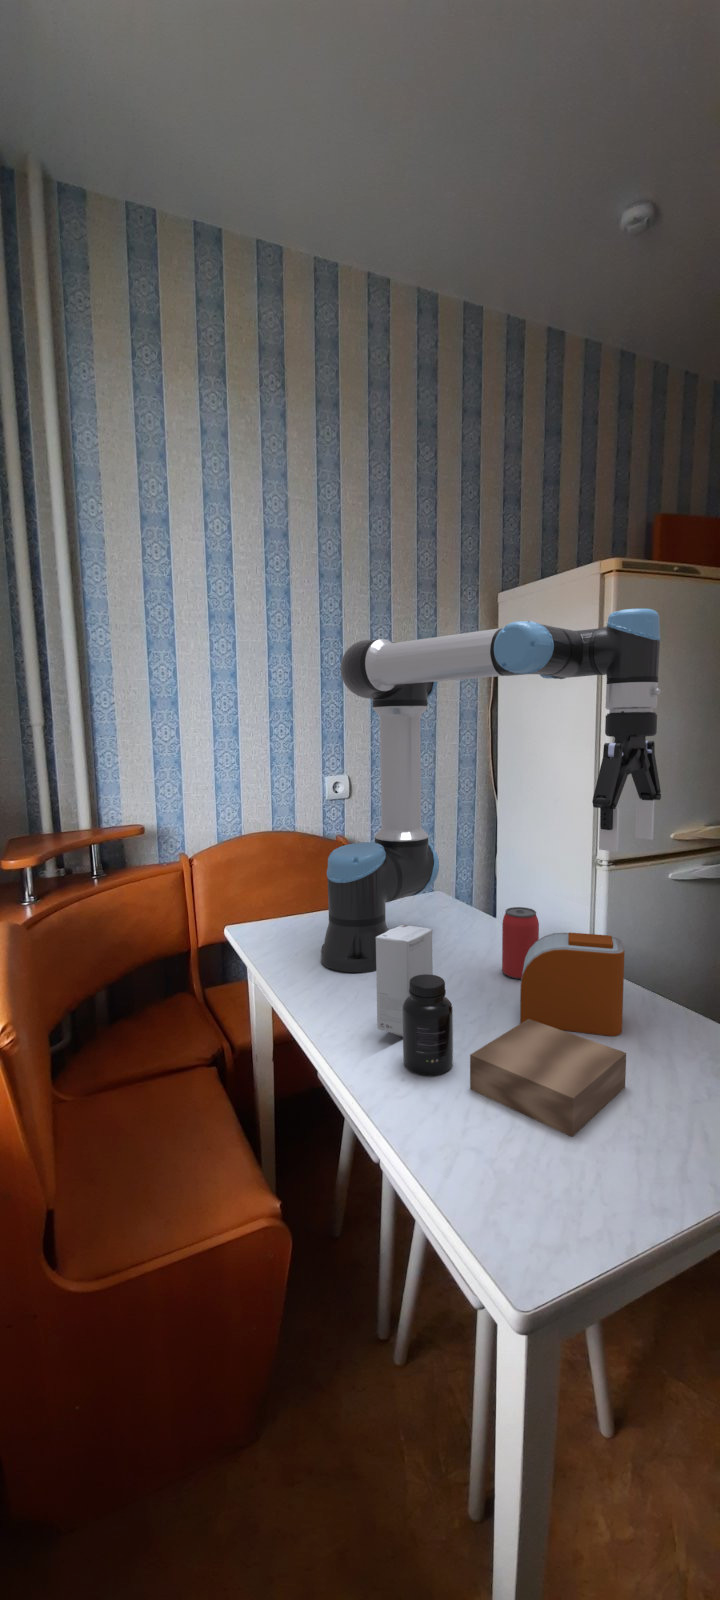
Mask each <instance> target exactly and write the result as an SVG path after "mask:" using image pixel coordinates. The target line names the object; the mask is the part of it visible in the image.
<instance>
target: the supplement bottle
mask: <svg viewBox="0 0 720 1600" xmlns="http://www.w3.org/2000/svg"><path fill="white" fill-rule="evenodd" d="M409 995H410V996H409V997H408V998H406V1000H405V1001H404V1003H403V1037H402V1050H403V1051H402V1055H403V1063H404V1065H405V1067H406V1068H407V1069H408V1070H409V1071H411V1072H412V1073H414V1074H417V1075H421V1076H428V1077H430V1076H439V1075H442V1074H444V1073H446V1072H447V1071H449V1070H450V1069H451V1067H452V1065H453V1061H454V1048H453V1047H454V1041H453V1040H454V1038H453V1036H454V1035H453V1034H454V1032H453V1031H454V1029H453V1027H454V1024H453V1022H454V1021H453V1020H454V1019H453V1018H454V1017H453V1016H454V1014H453V1011H454V1010H453V1005H452V1002H451V1000H449V999H448V998H447V996H446V981H445V980H444V978H443V977H441V976H439V975H434V974H433V975H430V974H423V975H417V976H414V977H412V978H411V979H410V982H409Z"/></svg>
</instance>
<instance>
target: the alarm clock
mask: <svg viewBox="0 0 720 1600" xmlns="http://www.w3.org/2000/svg"><path fill="white" fill-rule="evenodd" d="M624 976H625V948H624V944H623V941H622V939H620V938H619V937H615V936H612V935H606V934H596V933H595V934H594V933H583V932H582V933H581V932H571V931H570V932H555V933H554V932H553V933H551V934H547V935H544V936H542V937H541V938H539V940H538V941H536V942H535V943H534V944H533V945H532V946H531V948H530V949H529V951H528V953H527V955H526V957H525V961H524V967H523V973H522V979H520V986H519V987H520V999H519V1001H520V1002H519V1003H520V1005H519V1009H520V1010H519V1015H520V1017H519V1024H521V1023H522V1022H524V1021H526V1020H527V1019H531V1020H533V1021H536V1022H539V1023H542V1024H545V1025H548V1026H551V1027H553V1028H556V1029H559V1030H562V1031H565V1032H574V1033H575V1032H576V1033H583V1034H589V1035H590V1034H591V1035H592V1034H593V1035H599V1036H606V1037H607V1036H608V1037H609V1036H610V1037H612V1036H613V1037H616V1036H619V1035H621V1034H622V1031H623V1015H624V1014H623V1011H624V982H625V981H624V980H625V979H624Z"/></svg>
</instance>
